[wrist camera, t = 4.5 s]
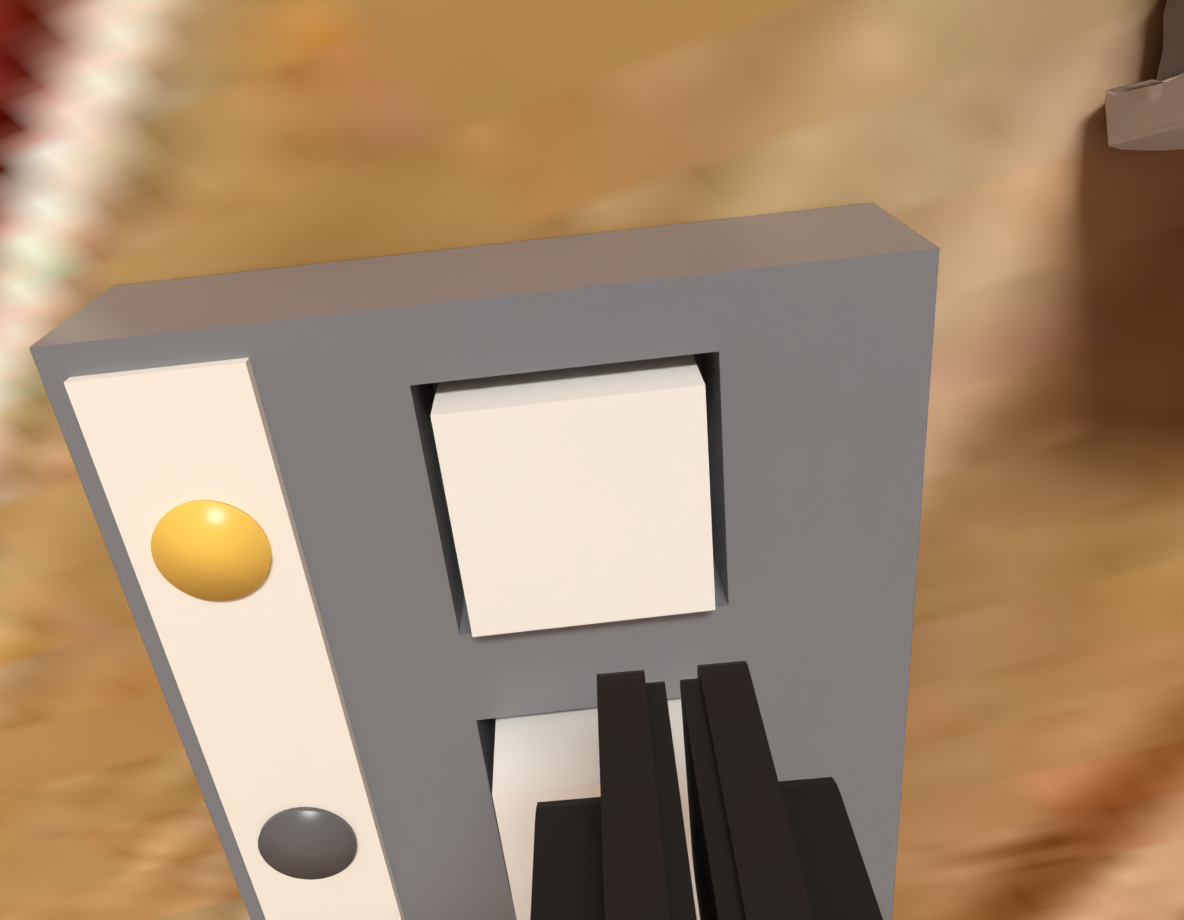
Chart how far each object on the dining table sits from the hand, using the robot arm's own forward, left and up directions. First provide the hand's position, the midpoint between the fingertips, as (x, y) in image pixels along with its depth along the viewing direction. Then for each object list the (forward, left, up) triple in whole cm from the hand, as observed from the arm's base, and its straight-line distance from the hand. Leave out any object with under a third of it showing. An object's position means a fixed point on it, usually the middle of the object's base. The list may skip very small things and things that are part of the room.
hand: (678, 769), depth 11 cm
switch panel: (+2, +6, -8) cm, 10 cm away
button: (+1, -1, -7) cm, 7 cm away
